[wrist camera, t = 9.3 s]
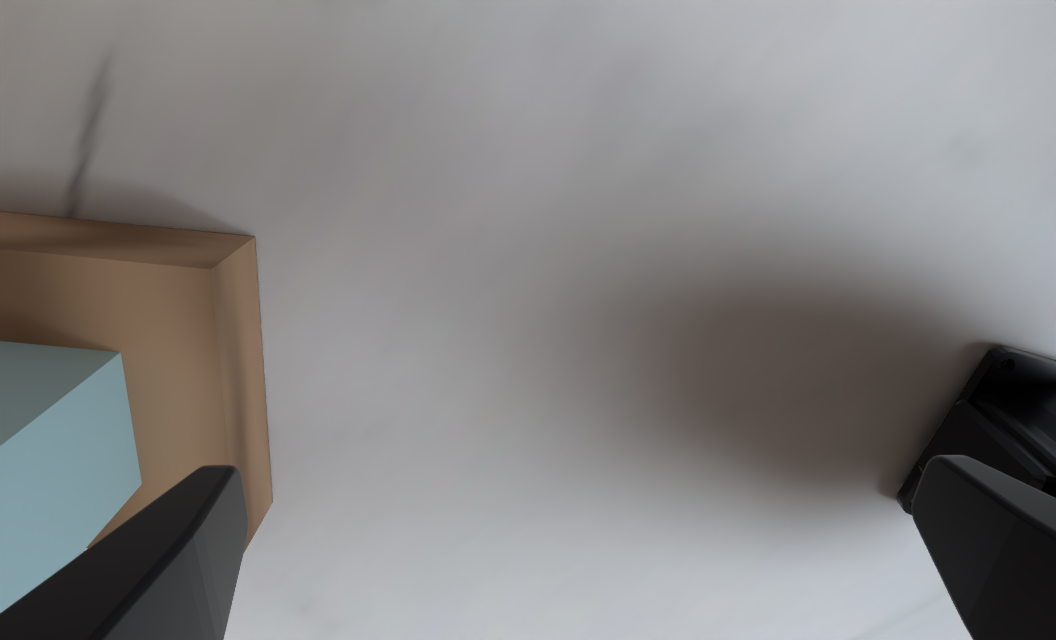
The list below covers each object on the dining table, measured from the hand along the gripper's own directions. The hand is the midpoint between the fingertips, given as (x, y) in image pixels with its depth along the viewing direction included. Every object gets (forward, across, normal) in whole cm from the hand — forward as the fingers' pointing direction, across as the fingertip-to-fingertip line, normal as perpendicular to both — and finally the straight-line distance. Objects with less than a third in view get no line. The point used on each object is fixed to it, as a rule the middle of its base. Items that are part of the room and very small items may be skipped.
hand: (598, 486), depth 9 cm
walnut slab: (+14, +13, +6) cm, 20 cm away
